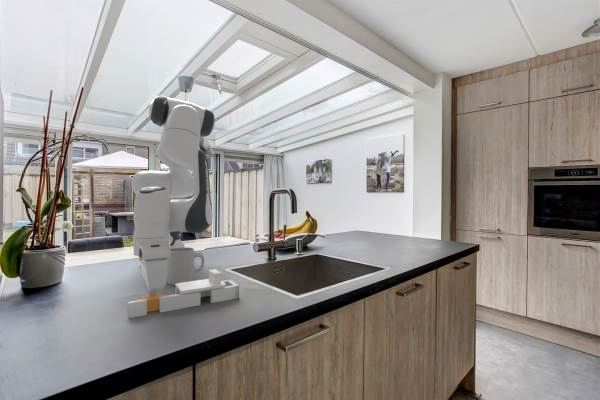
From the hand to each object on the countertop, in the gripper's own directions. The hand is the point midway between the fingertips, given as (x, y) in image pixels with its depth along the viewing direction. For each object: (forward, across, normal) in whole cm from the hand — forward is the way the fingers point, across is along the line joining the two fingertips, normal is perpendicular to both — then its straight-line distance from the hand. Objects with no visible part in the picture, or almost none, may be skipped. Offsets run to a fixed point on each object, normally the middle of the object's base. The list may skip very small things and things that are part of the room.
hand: (152, 298), depth 82 cm
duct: (+2, +3, +8) cm, 9 cm away
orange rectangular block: (+2, +3, 0) cm, 3 cm away
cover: (-2, +3, +12) cm, 13 cm away
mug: (+2, -19, +13) cm, 23 cm away
